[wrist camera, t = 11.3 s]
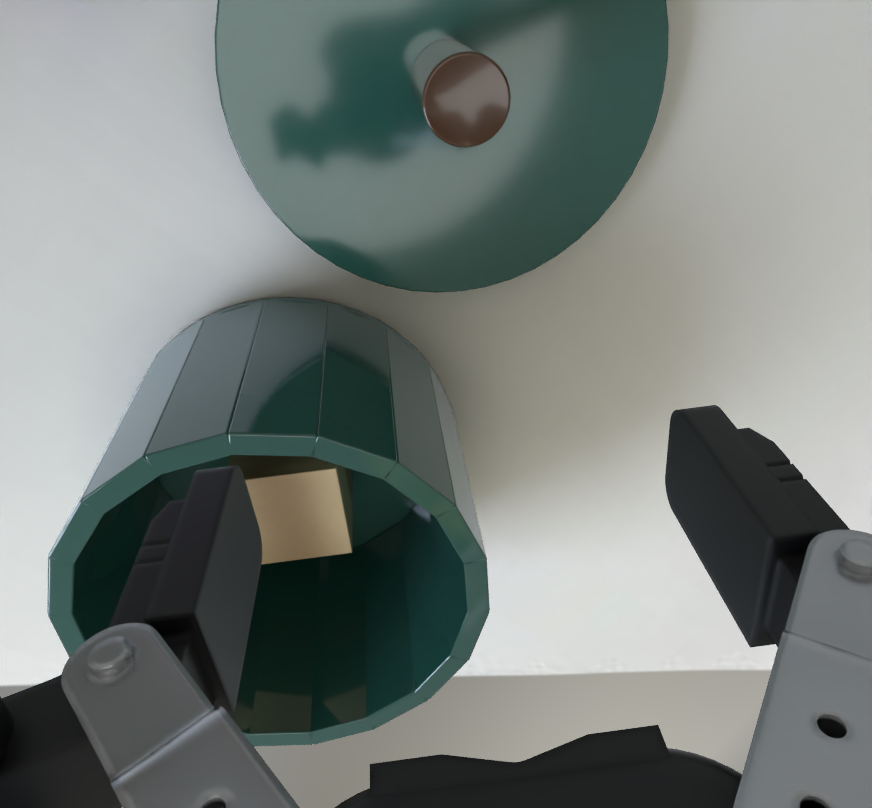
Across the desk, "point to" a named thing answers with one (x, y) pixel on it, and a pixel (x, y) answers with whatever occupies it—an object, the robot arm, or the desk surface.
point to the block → (299, 505)
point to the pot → (313, 577)
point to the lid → (440, 125)
